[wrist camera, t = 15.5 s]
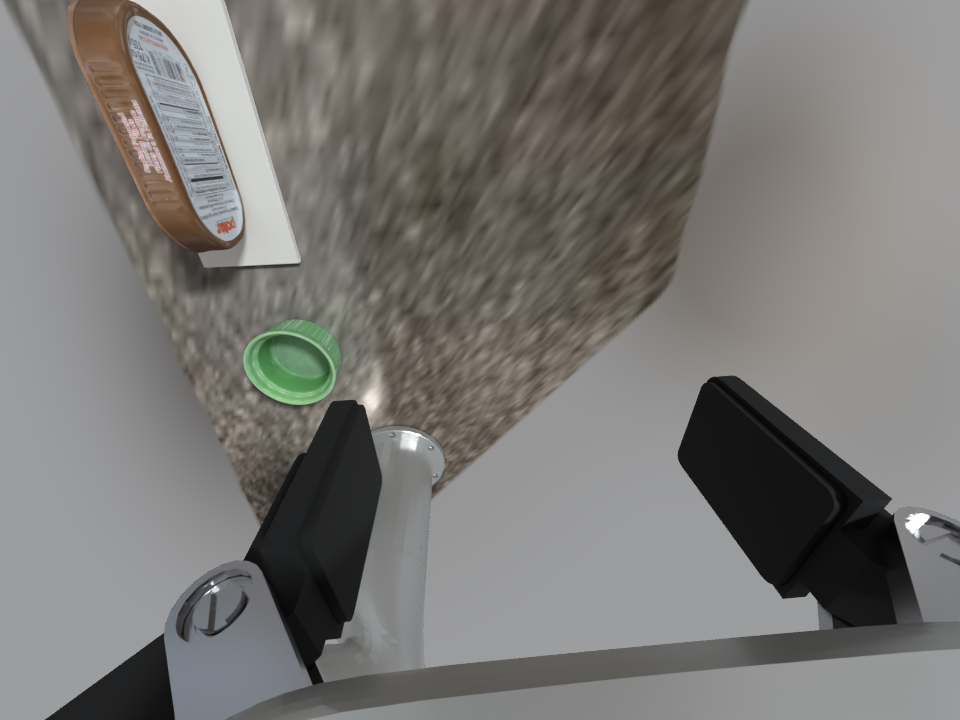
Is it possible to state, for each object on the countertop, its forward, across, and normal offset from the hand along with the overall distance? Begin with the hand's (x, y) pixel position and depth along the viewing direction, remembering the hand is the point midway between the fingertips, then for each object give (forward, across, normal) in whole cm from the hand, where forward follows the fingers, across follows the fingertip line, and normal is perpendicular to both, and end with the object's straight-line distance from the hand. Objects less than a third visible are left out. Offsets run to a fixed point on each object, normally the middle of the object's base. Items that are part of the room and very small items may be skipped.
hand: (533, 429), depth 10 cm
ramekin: (+29, +20, +12) cm, 37 cm away
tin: (+28, +22, -8) cm, 36 cm away
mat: (+28, +22, -8) cm, 37 cm away
